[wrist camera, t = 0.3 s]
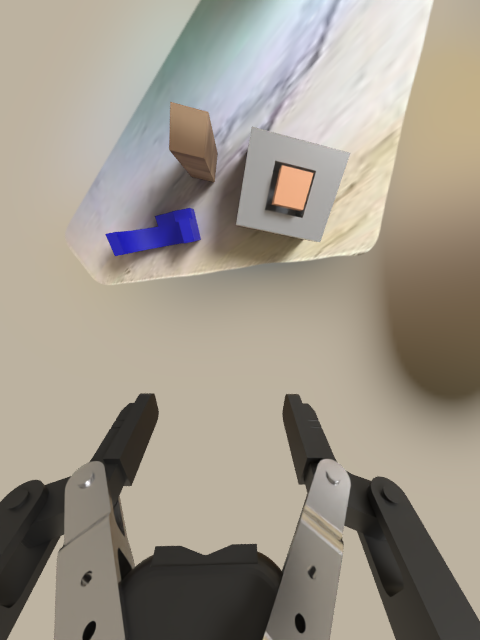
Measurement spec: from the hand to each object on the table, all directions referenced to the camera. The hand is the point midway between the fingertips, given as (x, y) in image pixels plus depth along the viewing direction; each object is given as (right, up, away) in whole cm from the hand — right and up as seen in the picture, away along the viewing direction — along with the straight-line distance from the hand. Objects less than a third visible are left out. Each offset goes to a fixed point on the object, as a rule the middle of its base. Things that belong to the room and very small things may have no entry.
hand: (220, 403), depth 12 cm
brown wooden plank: (-4, +28, +17) cm, 33 cm away
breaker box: (+7, +24, +19) cm, 32 cm away
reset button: (+7, +22, +14) cm, 27 cm away
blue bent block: (-12, +20, +21) cm, 31 cm away
